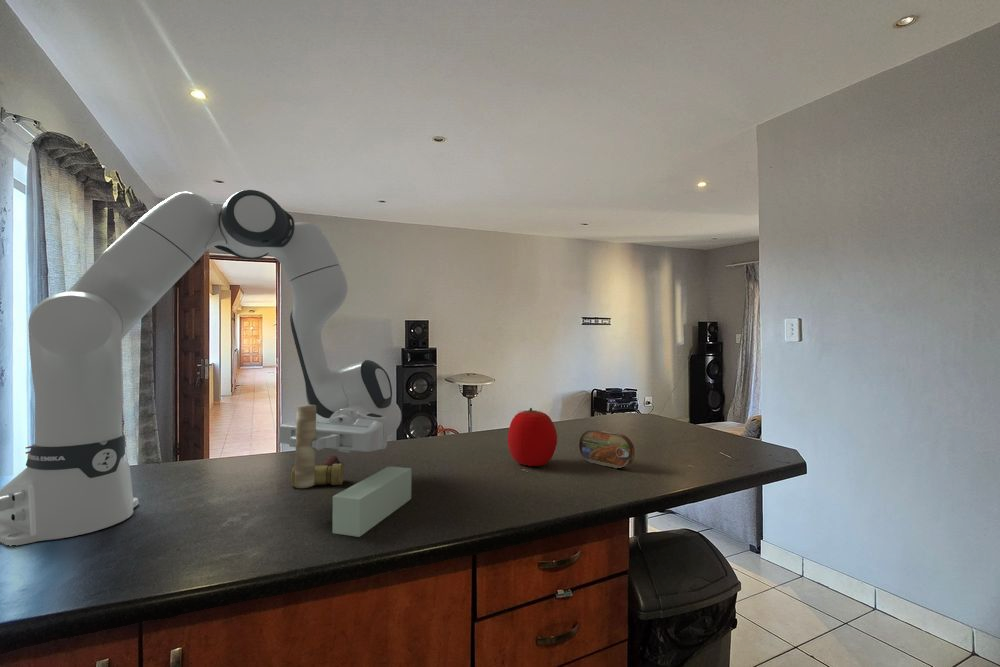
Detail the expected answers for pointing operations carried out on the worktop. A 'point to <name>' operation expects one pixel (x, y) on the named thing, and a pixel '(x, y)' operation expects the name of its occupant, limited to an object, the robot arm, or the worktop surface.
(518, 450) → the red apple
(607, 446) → the tin
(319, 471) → the gavel
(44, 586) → the worktop surface
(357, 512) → the pale mint rectangular block
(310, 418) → the dowel
